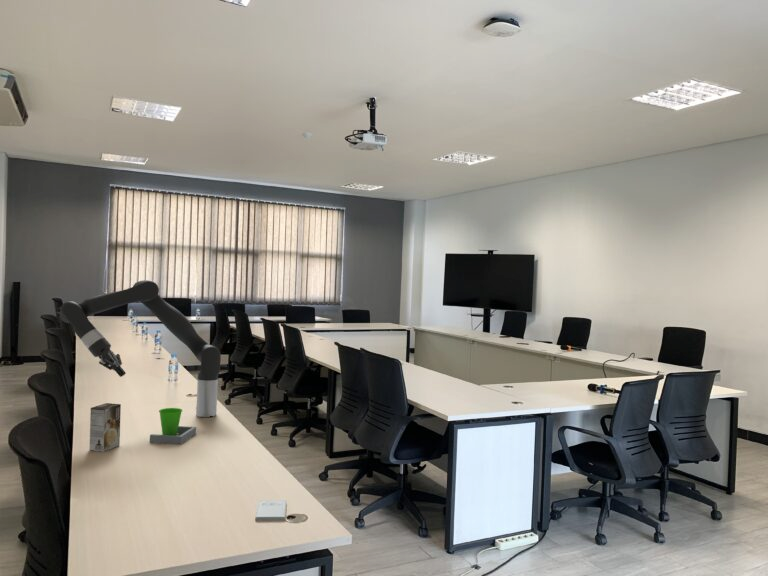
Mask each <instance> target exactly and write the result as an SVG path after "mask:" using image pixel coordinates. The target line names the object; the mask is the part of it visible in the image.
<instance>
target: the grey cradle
mask: <svg viewBox="0 0 768 576" xmlns="http://www.w3.org/2000/svg"><path fill="white" fill-rule="evenodd" d="M177 433H178V434H179V435H178V434H177V436H175V435H163V434H156V433H155V434H154V433H151V434H149V443H151V444H152V443H153V444H168V445H169V444H170V445H182V444H184V443H186V442H187V441H188V440H189V438H190V437H191V438H192V437H194V436H195V435H196V434H197V426H189V425H188V426H187V425H179V426H178V431H177ZM193 435H194V436H193ZM191 438H190V439H191Z"/></svg>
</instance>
